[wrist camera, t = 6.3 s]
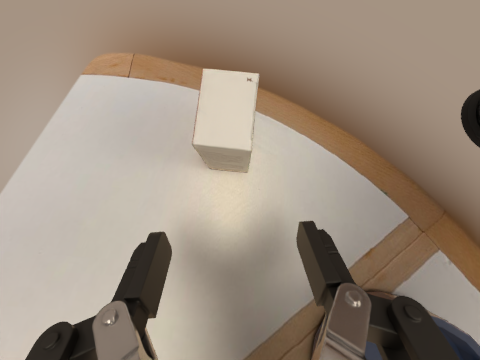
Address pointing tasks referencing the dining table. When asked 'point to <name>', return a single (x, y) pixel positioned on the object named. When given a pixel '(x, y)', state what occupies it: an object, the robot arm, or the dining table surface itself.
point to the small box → (226, 119)
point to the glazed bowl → (462, 343)
